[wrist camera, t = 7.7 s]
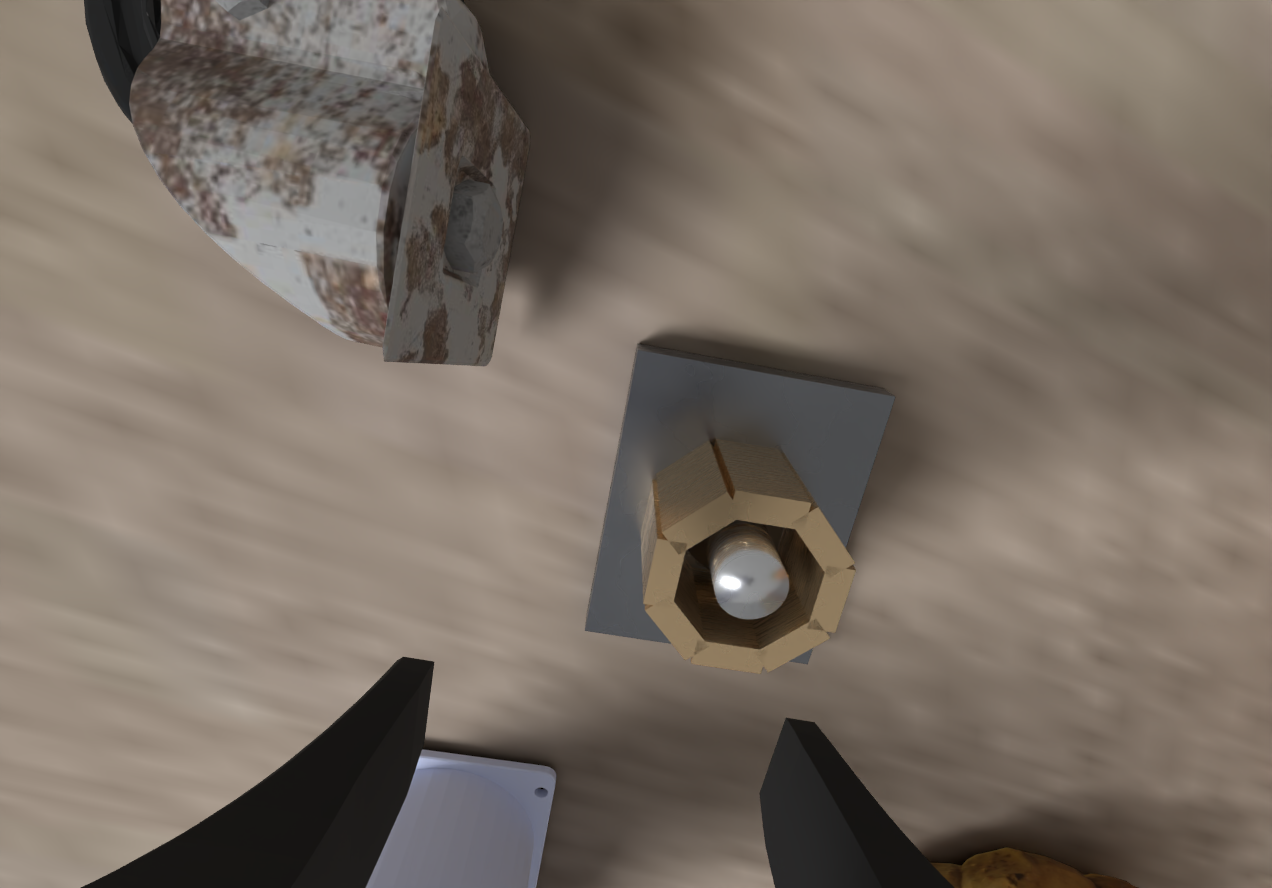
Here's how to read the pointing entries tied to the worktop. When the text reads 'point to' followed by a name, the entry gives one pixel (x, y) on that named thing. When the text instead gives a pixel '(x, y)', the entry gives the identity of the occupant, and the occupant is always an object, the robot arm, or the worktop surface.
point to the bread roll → (1021, 872)
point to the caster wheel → (334, 155)
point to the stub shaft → (708, 410)
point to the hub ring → (684, 596)
